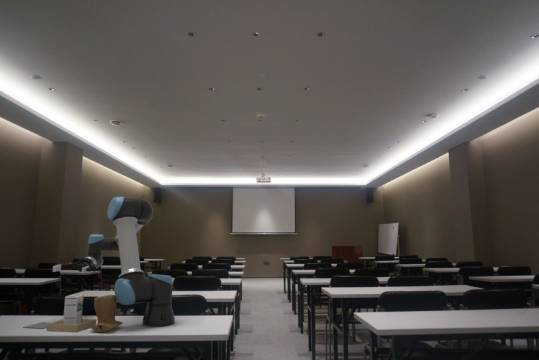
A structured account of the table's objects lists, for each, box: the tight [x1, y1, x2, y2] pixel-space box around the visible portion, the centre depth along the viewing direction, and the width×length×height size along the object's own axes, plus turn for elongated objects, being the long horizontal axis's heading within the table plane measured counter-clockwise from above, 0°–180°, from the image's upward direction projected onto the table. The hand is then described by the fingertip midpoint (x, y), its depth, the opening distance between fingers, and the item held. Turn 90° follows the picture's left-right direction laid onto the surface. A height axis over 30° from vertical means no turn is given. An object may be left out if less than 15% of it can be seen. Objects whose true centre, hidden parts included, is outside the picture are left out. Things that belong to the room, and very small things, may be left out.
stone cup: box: [91, 294, 123, 333], centre depth 170 cm, size 15×12×15 cm
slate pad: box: [22, 321, 49, 330], centre depth 177 cm, size 11×11×1 cm
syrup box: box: [63, 294, 84, 325], centre depth 173 cm, size 6×6×14 cm
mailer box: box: [46, 318, 98, 333], centre depth 179 cm, size 15×26×3 cm, turn 169°
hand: (68, 269), depth 182 cm, fingers open, 13 cm apart
